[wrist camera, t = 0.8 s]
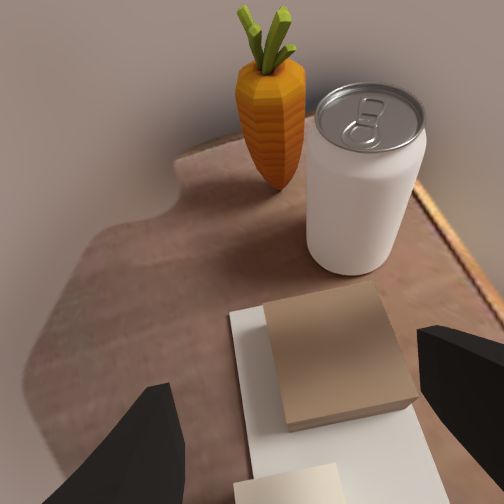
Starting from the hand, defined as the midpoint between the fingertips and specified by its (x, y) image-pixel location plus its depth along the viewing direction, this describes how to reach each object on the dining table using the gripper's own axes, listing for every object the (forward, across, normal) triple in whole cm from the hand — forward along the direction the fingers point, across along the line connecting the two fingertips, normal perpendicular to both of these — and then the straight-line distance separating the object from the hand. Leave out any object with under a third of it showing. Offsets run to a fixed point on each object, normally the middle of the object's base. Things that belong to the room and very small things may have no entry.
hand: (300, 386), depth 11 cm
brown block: (+12, -4, +7) cm, 15 cm away
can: (+19, -8, +2) cm, 21 cm away
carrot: (+24, -4, -3) cm, 25 cm away
